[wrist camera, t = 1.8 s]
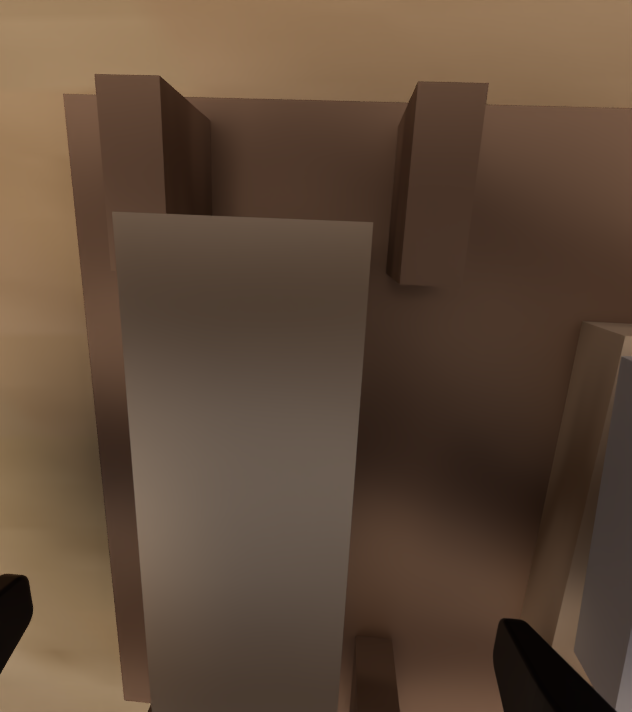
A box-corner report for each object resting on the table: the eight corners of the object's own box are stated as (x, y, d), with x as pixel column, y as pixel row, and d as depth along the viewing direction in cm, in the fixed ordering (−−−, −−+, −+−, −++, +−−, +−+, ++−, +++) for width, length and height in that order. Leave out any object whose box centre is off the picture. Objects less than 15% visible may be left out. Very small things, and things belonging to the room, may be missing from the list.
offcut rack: (674, 739, 15) (769, 884, 12) (132, 684, 17) (75, 802, 13) (894, 123, 10) (1179, 62, 7) (77, 101, 11) (-42, 39, 8)
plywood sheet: (330, 656, 15) (319, 964, 8) (243, 648, 15) (169, 944, 9) (357, 232, 11) (373, 223, 5) (242, 227, 11) (111, 211, 5)
